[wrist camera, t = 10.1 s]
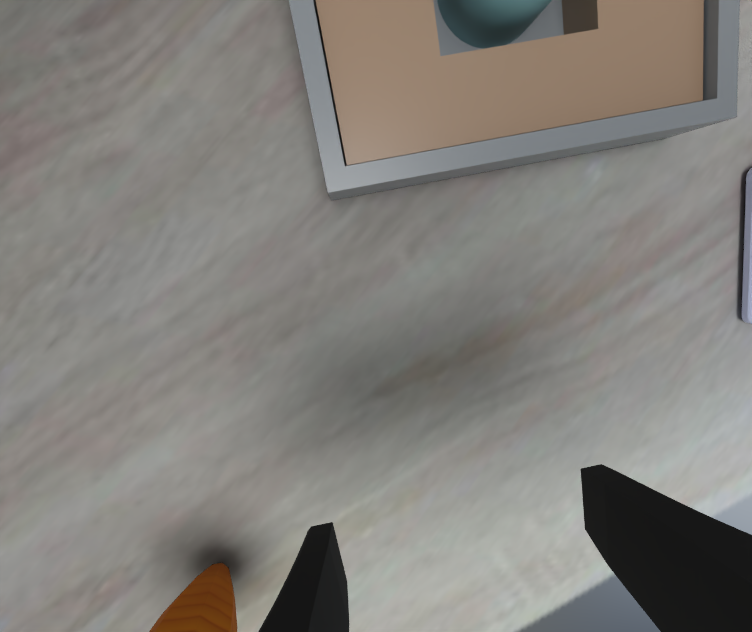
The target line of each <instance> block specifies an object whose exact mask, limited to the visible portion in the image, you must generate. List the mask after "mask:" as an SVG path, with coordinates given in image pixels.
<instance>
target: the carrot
mask: <svg viewBox="0 0 752 632" xmlns="http://www.w3.org/2000/svg"><path fill="white" fill-rule="evenodd" d="M149 632H237V619H236V607H235V597H234V591H233V585H232V581H231V576H230V572H229V568H228V567H227V566H226V565H225V564H223V563H217V564H212V565H211V566H210V567H209V568H207V569H206V570H205V571H203V572H202V573H201V574H200V575H198V576H197V577H196V578H195V579H194V580H193V581H192V582H191V583H190V584H189V586H188V587H187V588H186V589H185V590H184V591H183V592H182V593H181V594H180V595H179V596H178V597H177V598H176V599H175V601H174V602H173V603H172V604H171V605H170V606H169V607H168V608H167V609H166V610H165V611H164V612H163V614H162V615H161V616H160V618H159V619H158V620H157V622H156V623H155V624H154V626H153V627H152V629H151V630H150V631H149Z"/></svg>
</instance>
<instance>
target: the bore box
mask: <svg viewBox="0 0 752 632" xmlns="http://www.w3.org/2000/svg"><path fill="white" fill-rule="evenodd" d="M289 4H290V9H291V14H292V19H293V24H294V29H295V33H296V38H297V43H298V48H299V53H300V58H301V63H302V68H303V73H304V78H305V83H306V88H307V93H308V98H309V102H310V107H311V112H312V117H313V122H314V127H315V132H316V137H317V142H318V147H319V152H320V157H321V162H322V167H323V171H324V176H325V181H326V186H327V191H328V194H329V196H330V199H331V200H337V199H342V198H347V197H353V196H358V195H364V194H369V193H374V192H380V191H385V190H391V189H396V188H401V187H407V186H412V185H418V184H423V183H428V182H434V181H439V180H444V179H450V178H455V177H461V176H466V175H471V174H477V173H482V172H488V171H493V170H498V169H504V168H509V167H515V166H520V165H525V164H531V163H536V162H541V161H547V160H552V159H558V158H563V157H568V156H574V155H579V154H585V153H590V152H595V151H601V150H606V149H612V148H617V147H622V146H628V145H633V144H639V143H644V142H649V141H655V140H660V139H665V138H668V137H671V136H675V135H678V134H681V133H685V132H688V131H692V130H695V129H698V128H702V127H705V126H708V125H712V124H715V123H719V122H722V121H725V120H729V119H732V118H736V117H737V83H738V47H739V11H740V0H552V1H551V2H550V3H549V4H548V5H547V7H546V8H545V9H544V10H543V11H542V12H541V13H540V14H539V16H538V17H537V18H536V19H535V20H534V21H533V22H532V23H531V25H530V26H529V27H528V28H527V29H526V30H525V31H524V32H523V33H522V34H521V35H520V36H519V37H518V38H517V39H515V40H514V41H513V42H511V43H509V44H507V45H503V46H497V47H491V48H485V49H483V48H477V47H473V46H471V45H468V44H466V43H465V42H463V41H461V40H460V39H459V38H458V37H456V36H455V35H454V34H453V33H452V31H451V30H450V29H449V28H448V26H447V25H446V23H445V21H444V19H443V18H442V15H441V13H440V10H439V6H438V3H437V0H289Z"/></svg>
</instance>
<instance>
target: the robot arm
mask: <svg viewBox="0 0 752 632" xmlns="http://www.w3.org/2000/svg"><path fill="white" fill-rule="evenodd" d="M742 319H743V320H744V322H747V323H750V324H752V168H751V169H750V170H749V171H748V173H747V177H746V203H745V232H744V261H743V291H742ZM581 479H582V493H583V507H584V521H585V530H586V531H587V533H588V534H589V536H590V538H591V539H592V541H593V542H594V544H595V546H596V547H597V549H598V550H599V552H600V553H601V555H602V557H603V558H604V560H605V561H606V563H607V564H608V566H609V567H610V568H611V570H612V571H613V572H614V573H615V575H616V576H617V577H618V579H619V580H620V581H621V582H622V583H623V585H624V586H625V587H626V589H627V590H628V591H629V592H630V594H631V595H632V596H633V597H634V599H635V600H636V601H637V602H638V604H639V605H640V606H641V607H642V608H643V610H644V611H645V612H646V614H647V615H648V616H649V617H650V619H651V620H652V621H653V622H654V623H655V625H656V626H657V627H658V629H659V630H660V631H661V632H752V535H750V534H748V533H746V532H743V531H741V530H738V529H736V528H734V527H732V526H729V525H727V524H725V523H723V522H720V521H718V520H716V519H714V518H711V517H709V516H707V515H705V514H703V513H700V512H698V511H696V510H694V509H692V508H690V507H688V506H686V505H683V504H681V503H679V502H677V501H675V500H673V499H671V498H669V497H667V496H665V495H663V494H661V493H659V492H657V491H655V490H653V489H651V488H649V487H647V486H645V485H643V484H641V483H639V482H637V481H635V480H633V479H631V478H629V477H627V476H625V475H623V474H621V473H619V472H617V471H615V470H613V469H611V468H608V467H606V466H604V465H602V464H601V465H596V466H591V467H587V468H582V469H581ZM259 632H349V609H348V590H347V579H346V575H345V571H344V567H343V563H342V559H341V555H340V551H339V547H338V543H337V539H336V535H335V530H334V526H333V522H331V523H326V524H322V525H317V526H312V527H311V528H310V529H309V530H308V532H307V535H306V537H305V539H304V542H303V544H302V546H301V549H300V551H299V553H298V555H297V558H296V560H295V562H294V564H293V566H292V569H291V571H290V573H289V575H288V577H287V579H286V581H285V583H284V585H283V587H282V589H281V591H280V593H279V595H278V597H277V599H276V601H275V603H274V605H273V607H272V608H271V610H270V612H269V614H268V616H267V617H266V619H265V621H264V623H263V625H262V626H261V628H260V630H259Z"/></svg>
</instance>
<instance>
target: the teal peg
mask: <svg viewBox="0 0 752 632" xmlns="http://www.w3.org/2000/svg"><path fill="white" fill-rule="evenodd" d="M551 1H552V0H437V3H438V6H439V10H440V13H441V15H442V18H443V19H444V21H445V23H446V25H447V26H448V28H449V29H450V30H451V31H452V33H453V34H454V35H455V36H456V37H458V38H459V39H460V40H461V41H463V42H465V43H466V44H468V45H471V46H473V47H477V48H483V49H485V48H491V47H497V46H503V45H507V44H509V43H511V42H513V41H514V40H515V39H517V38H518V37H519V36H520V35H521V34H522V33H523V32H524V31H525V30H526V29H527V28H528V27H529V26H530V25H531V23H532V22H533V21H534V20H535V19H536V18H537V17H538V16H539V14H540V13H541V12H542V11H543V10H544V9H545V8H546V7H547V5H548V4H549V3H550V2H551Z"/></svg>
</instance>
